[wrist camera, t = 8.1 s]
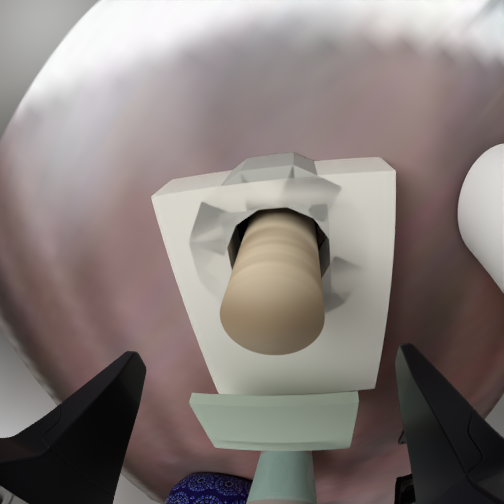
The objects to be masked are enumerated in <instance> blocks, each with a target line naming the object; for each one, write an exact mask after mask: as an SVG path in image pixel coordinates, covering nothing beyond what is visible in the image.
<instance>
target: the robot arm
mask: <svg viewBox="0 0 504 504" xmlns="http://www.w3.org/2000/svg"><path fill="white" fill-rule="evenodd" d="M395 370H396V378H397V387H398V396H399V406H400V412H401V416H402V421H403V426H404V430H403V432H402V434H401V436H400V438H399V440H398V443H399V444H407V447H408V452H409V458H410V464H411V472H412V474H409V475H406V476H403V477H398V478H397V479H396V484H395V502H394V504H504V438H503V437H502V436H501V435H499V433H498V432H496V431H495V430H494V429H493V428H492V427H491V426H490V425H489V424H488V423H487V422H486V421H485V420H484V419H483V418H482V417H481V416H480V415H479V413H478V412H477V411H476V410H475V409H474V410H473V407H472V406H471V405H470V404H469V403H468V402H467V400H466V399H465V398H464V397H463V396H462V395H461V394H460V393H459V392H458V391H457V390H456V389H455V388H454V387H453V386H452V384H451V383H450V382H449V381H448V380H447V379H446V378H445V377H444V376H443V375H442V374H441V373H440V372H439V371H438V370H437V369H436V368H435V367H434V366H433V365H432V364H431V363H430V362H429V361H428V359H427V358H426V357H425V356H424V355H423V354H422V353H421V352H420V351H419V350H418V349H417V348H416V347H415V346H414V345H413V344H411V343H407V344H401V345H399V347H398V351H397V356H396V360H395ZM145 375H146V366H145V364H144V362H143V361H142V359H141V357H140V355H139V354H138V353H137V352H134V351H127V352H125V353H124V354H123V355H121V356H120V357H119V358H118V359H116V360H115V361H114V362H113V363H111V364H110V365H109V366H108V367H106V368H105V369H104V370H103V371H101V372H100V373H99V374H97V375H96V376H95V377H94V378H92V379H91V380H90V381H89V382H87V383H86V384H85V385H84V386H82V387H81V388H80V389H79V390H77V391H76V392H75V393H74V394H72V395H71V396H70V397H69V398H67V399H66V400H65V401H63V402H62V404H60V405H58V406H57V407H56V408H55V409H53V410H52V411H51V412H49V413H48V414H47V415H46V416H44V417H43V418H41V419H40V420H38V421H37V422H35V423H34V424H32V425H31V426H29V427H27V428H26V429H24V430H23V431H21V432H20V433H19V434H17V435H15V436H12V437H9V438H0V504H113V500H114V495H115V491H116V487H117V483H118V480H119V476H120V472H121V469H122V465H123V461H124V458H125V454H126V450H127V447H128V443H129V440H130V436H131V433H132V430H133V426H134V423H135V419H136V416H137V413H138V409H139V405H140V401H141V396H142V390H143V385H144V380H145Z"/></svg>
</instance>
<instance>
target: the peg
mask: <svg viewBox="0 0 504 504" xmlns="http://www.w3.org/2000/svg"><path fill="white" fill-rule="evenodd" d="M220 320H221V324H222V326H223V328H224V330H225V332H226V333H227V334H228V336H229V337H230V338H231V339H232V340H233V341H234V342H236V343H237V344H238V345H240V346H242V347H243V348H245V349H247V350H250V351H252V352H255V353H259V354H264V355H286V354H291V353H295V352H298V351H300V350H302V349H304V348H306V347H308V346H309V345H310V344H312V343H313V342H314V341H315V340H316V339H317V338H318V336H319V335H320V333H321V331H322V329H323V326H324V322H325V314H324V302H323V291H322V281H321V271H320V262H319V253H318V245H317V236H316V228H315V222H314V219H313V218H311V217H309V216H307V215H304V214H302V213H300V212H297V211H295V210H293V209H290V208H288V207H283V208H272V209H262V210H257V211H256V212H254V213H253V214H252V215H251V217H250V219H249V222H248V225H247V228H246V231H245V234H244V237H243V240H242V243H241V246H240V249H239V252H238V255H237V258H236V261H235V264H234V267H233V270H232V273H231V276H230V279H229V282H228V285H227V288H226V291H225V294H224V297H223V300H222V303H221V306H220Z"/></svg>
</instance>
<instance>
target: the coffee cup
mask: <svg viewBox="0 0 504 504" xmlns="http://www.w3.org/2000/svg"><path fill="white" fill-rule="evenodd" d="M246 504H317V501H316V489H315V478H314V467H313V457H312V450H306V451H261V454H260V458H259V461H258V465H257V469H256V472H255V476H254V479H253V483H252V486H251V489H250V493H249V496H248V499H247V503H246Z"/></svg>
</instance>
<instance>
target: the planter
mask: <svg viewBox="0 0 504 504" xmlns="http://www.w3.org/2000/svg"><path fill="white" fill-rule="evenodd" d="M251 486H252V482H250V481H248V480H245V479H242V478H238V477H234V476H230V475H224V474H217V473H196V474H192V475H189V476H187V477H185V478H183V479H182V480H180V481H179V482H178V483H177V484H176V485H175V486H174V487H173V488H172V489H171V491H170V493H169V495H168V497H167V499H166V501H165V504H246V503H247V499H248V496H249V493H250V489H251Z"/></svg>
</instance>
